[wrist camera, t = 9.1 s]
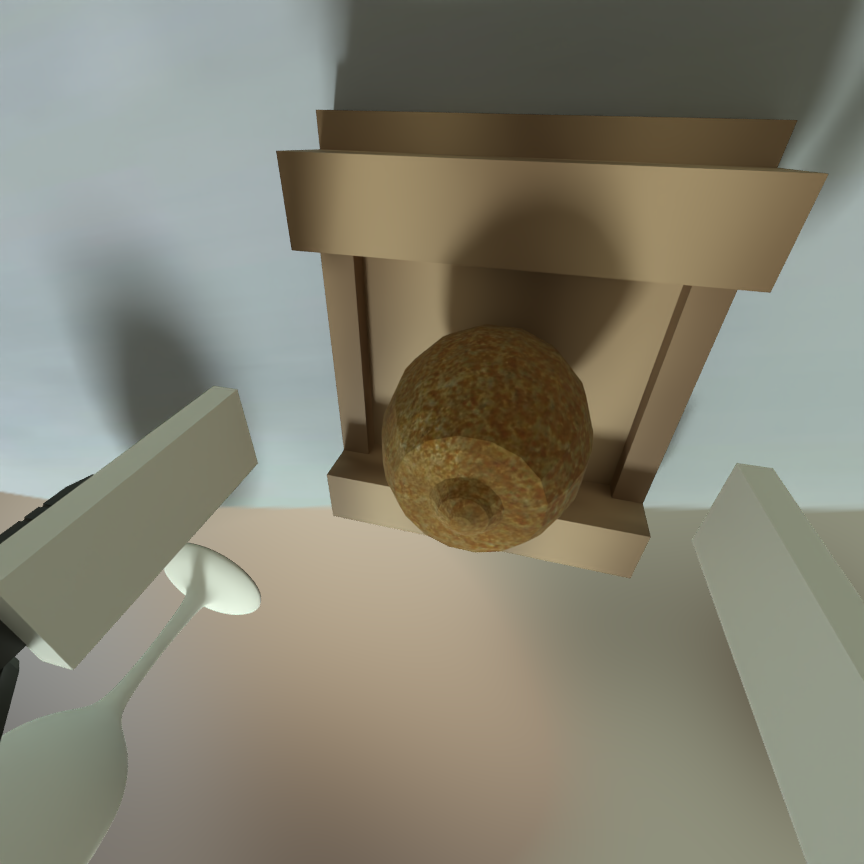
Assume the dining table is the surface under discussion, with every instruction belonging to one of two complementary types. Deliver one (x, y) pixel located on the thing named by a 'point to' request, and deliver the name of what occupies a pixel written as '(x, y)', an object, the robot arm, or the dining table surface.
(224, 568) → the wineglass
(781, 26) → the dining table surface
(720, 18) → the dining table surface
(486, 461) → the fruit
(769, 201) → the cradle
